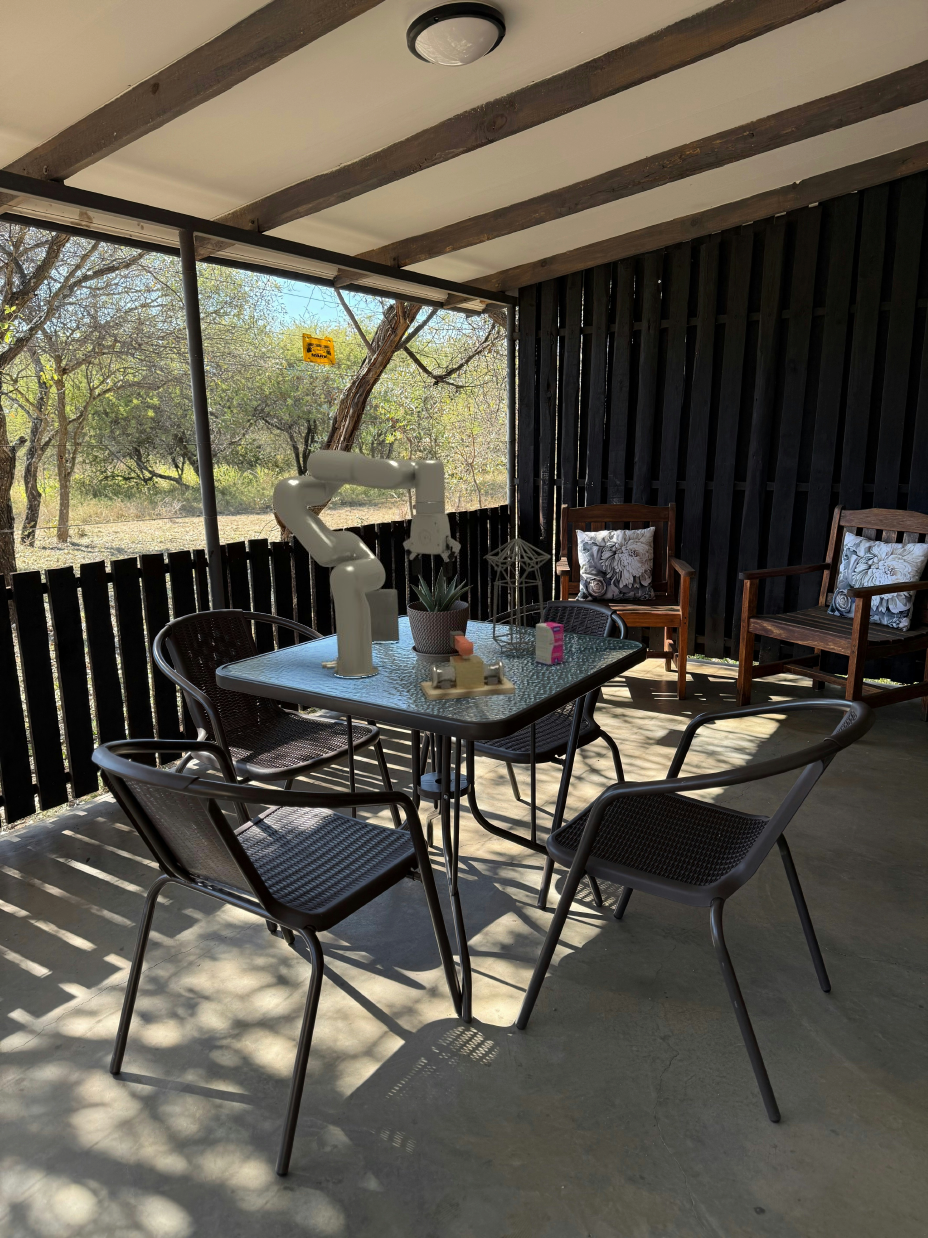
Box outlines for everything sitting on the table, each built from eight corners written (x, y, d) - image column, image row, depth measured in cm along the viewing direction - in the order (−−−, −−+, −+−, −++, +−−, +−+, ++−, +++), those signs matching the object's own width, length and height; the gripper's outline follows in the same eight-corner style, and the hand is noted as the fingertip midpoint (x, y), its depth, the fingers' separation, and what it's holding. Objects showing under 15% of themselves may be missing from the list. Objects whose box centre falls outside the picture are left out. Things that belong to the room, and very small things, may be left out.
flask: (399, 640, 270) (396, 581, 266) (399, 643, 264) (396, 583, 261) (354, 642, 268) (351, 583, 265) (353, 645, 263) (350, 585, 259)
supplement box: (548, 666, 227) (548, 626, 225) (535, 663, 232) (534, 624, 230) (564, 663, 230) (563, 624, 228) (550, 659, 235) (549, 621, 233)
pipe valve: (435, 694, 198) (434, 664, 197) (429, 687, 206) (428, 658, 204) (505, 688, 202) (504, 659, 201) (497, 681, 209) (497, 653, 208)
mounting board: (428, 700, 196) (428, 694, 196) (420, 688, 208) (420, 682, 207) (515, 693, 200) (515, 687, 200) (503, 681, 212) (503, 676, 212)
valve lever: (475, 658, 201) (474, 642, 200) (460, 659, 200) (460, 643, 200) (462, 646, 216) (461, 630, 216) (448, 647, 216) (448, 631, 215)
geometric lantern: (521, 645, 255) (519, 535, 249) (555, 653, 243) (554, 537, 237) (482, 653, 246) (479, 539, 240) (515, 662, 234) (513, 541, 227)
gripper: (394, 509, 206) (396, 575, 209) (450, 510, 197) (451, 579, 200) (411, 508, 212) (413, 572, 215) (466, 508, 203) (468, 575, 206)
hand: (432, 575), depth 208 cm, fingers open, 9 cm apart
